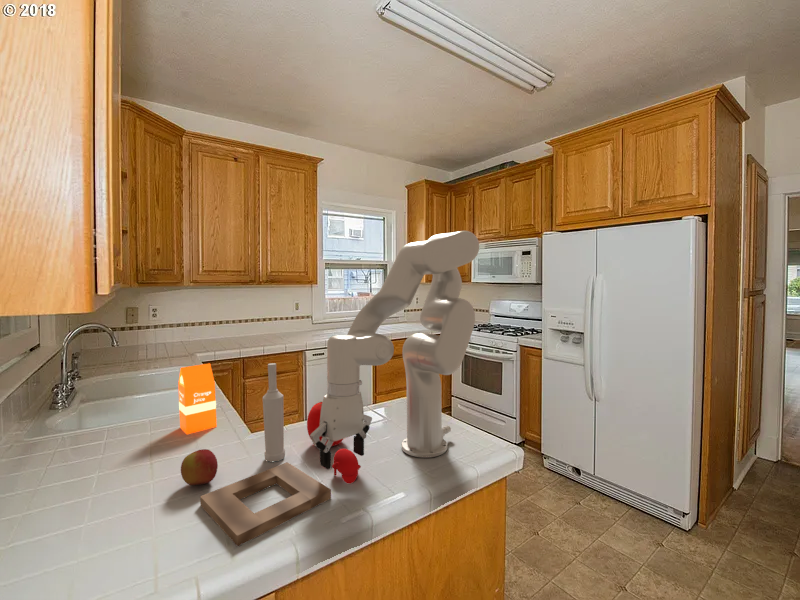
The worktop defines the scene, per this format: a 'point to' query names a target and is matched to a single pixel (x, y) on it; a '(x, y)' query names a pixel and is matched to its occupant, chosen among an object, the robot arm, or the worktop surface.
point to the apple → (199, 467)
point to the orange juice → (197, 398)
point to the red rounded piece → (346, 465)
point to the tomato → (316, 421)
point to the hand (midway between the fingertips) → (342, 460)
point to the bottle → (273, 419)
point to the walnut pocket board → (250, 525)
